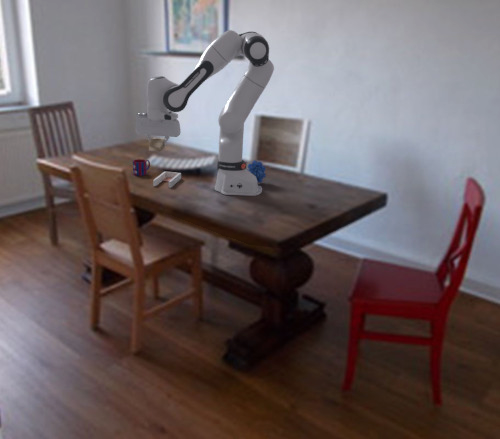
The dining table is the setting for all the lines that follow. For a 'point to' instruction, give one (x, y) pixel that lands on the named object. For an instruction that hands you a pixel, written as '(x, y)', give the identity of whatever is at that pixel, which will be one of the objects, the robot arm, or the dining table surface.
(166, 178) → the white u-shaped frame
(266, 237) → the dining table surface
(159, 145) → the block
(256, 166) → the grapes
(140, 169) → the mug
